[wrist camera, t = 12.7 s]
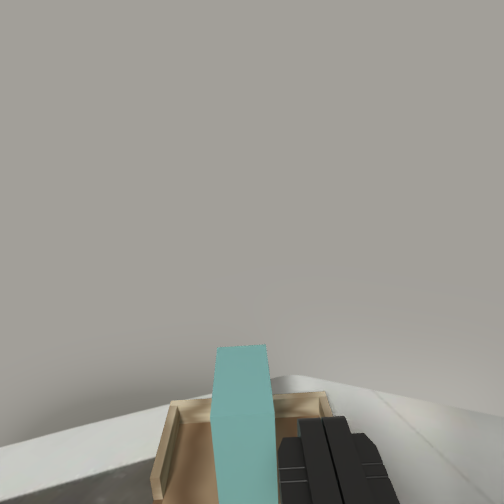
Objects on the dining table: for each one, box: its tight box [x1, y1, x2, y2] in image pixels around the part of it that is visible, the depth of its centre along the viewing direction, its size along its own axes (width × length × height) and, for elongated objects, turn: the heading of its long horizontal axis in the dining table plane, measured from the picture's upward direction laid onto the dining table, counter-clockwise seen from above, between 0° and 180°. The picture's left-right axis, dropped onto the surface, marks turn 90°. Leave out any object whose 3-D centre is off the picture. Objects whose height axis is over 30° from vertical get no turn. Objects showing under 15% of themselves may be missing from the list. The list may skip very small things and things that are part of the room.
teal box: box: [210, 345, 278, 504], centre depth 42 cm, size 6×12×12 cm, turn 2°
